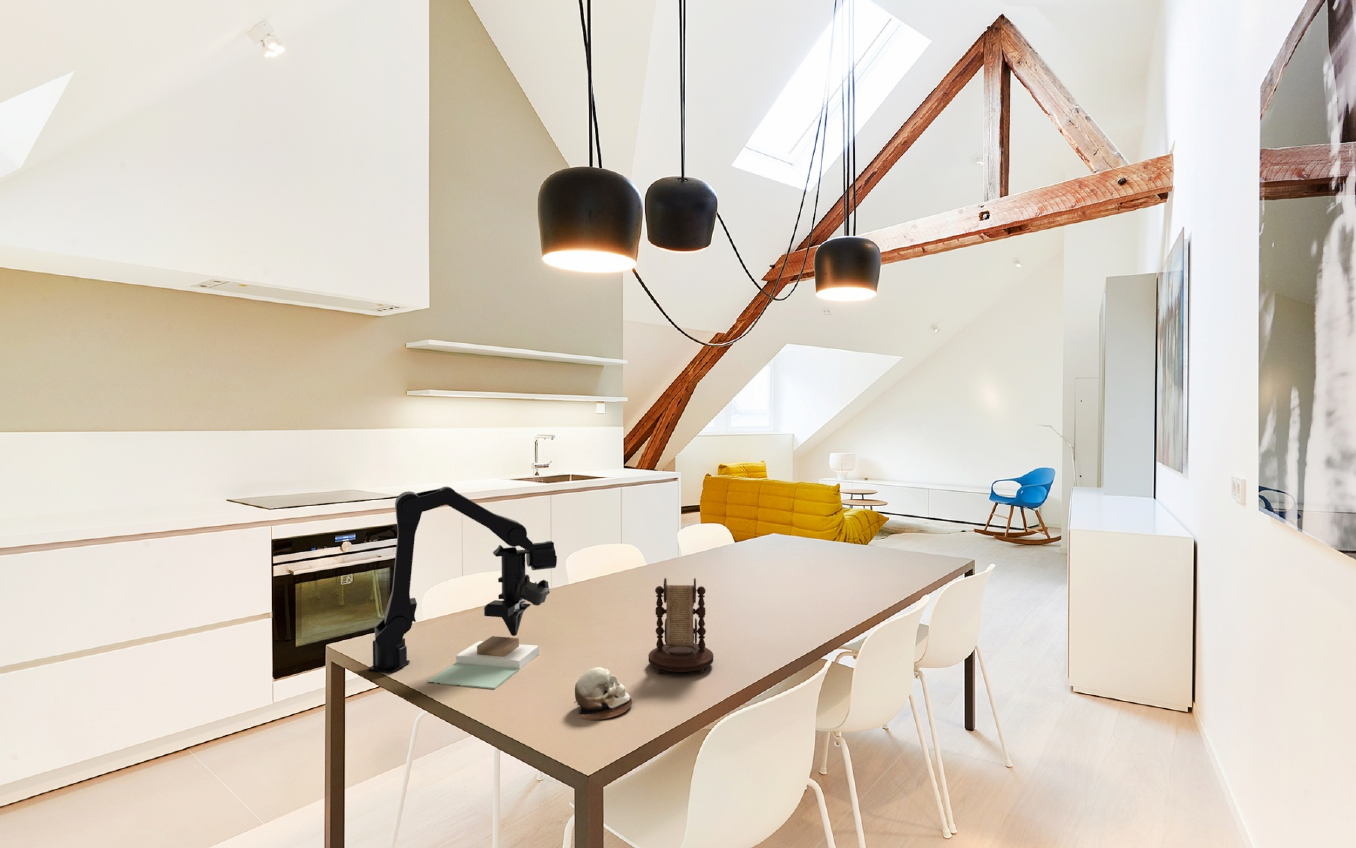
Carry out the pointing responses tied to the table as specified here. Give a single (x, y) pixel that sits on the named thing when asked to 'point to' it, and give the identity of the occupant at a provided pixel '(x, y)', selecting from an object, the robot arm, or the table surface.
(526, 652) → the plate
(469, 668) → the mat
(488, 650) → the tile
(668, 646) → the scroll
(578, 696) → the skull
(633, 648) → the table surface
